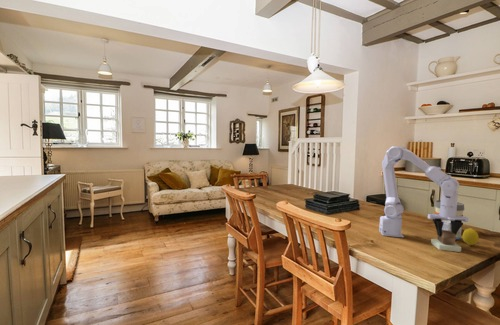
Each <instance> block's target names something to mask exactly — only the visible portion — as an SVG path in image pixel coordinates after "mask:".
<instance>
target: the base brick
mask: <svg viewBox="0 0 500 325" xmlns="http://www.w3.org/2000/svg"><path fill="white" fill-rule="evenodd" d="M430 243H431V244H432V245H433V246H434V247H435V248H437V249H438V251H447V252H448V251H450V252H458V253H462V246H460V245H459V244H457V243H456V242H455V245H454V244H444V243H442V242H440V241H439V240H438V238H431V239H430Z"/></svg>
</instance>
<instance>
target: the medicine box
mask: <svg viewBox="0 0 500 325" xmlns="http://www.w3.org/2000/svg"><path fill="white" fill-rule="evenodd" d="M442 222H443V223H444V224H443V227H442V230H447V231H451V220H444V221H442ZM462 227H463V225H462V226H461V228H460V229H459V230H458V232H457V234H456V237H455V241H456V240H457V241H458V240H461V239H462Z"/></svg>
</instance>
